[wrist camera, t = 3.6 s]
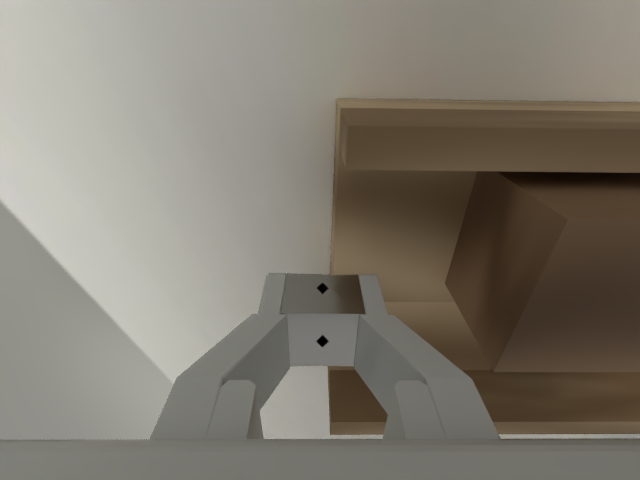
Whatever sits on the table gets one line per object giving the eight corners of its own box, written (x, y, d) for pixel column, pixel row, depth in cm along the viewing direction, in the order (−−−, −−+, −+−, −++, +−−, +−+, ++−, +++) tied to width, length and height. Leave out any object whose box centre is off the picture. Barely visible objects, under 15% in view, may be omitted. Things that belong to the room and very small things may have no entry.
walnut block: (480, 160, 10) (568, 219, 6) (636, 162, 10) (805, 221, 6) (444, 283, 12) (493, 372, 9) (568, 284, 12) (662, 372, 9)
